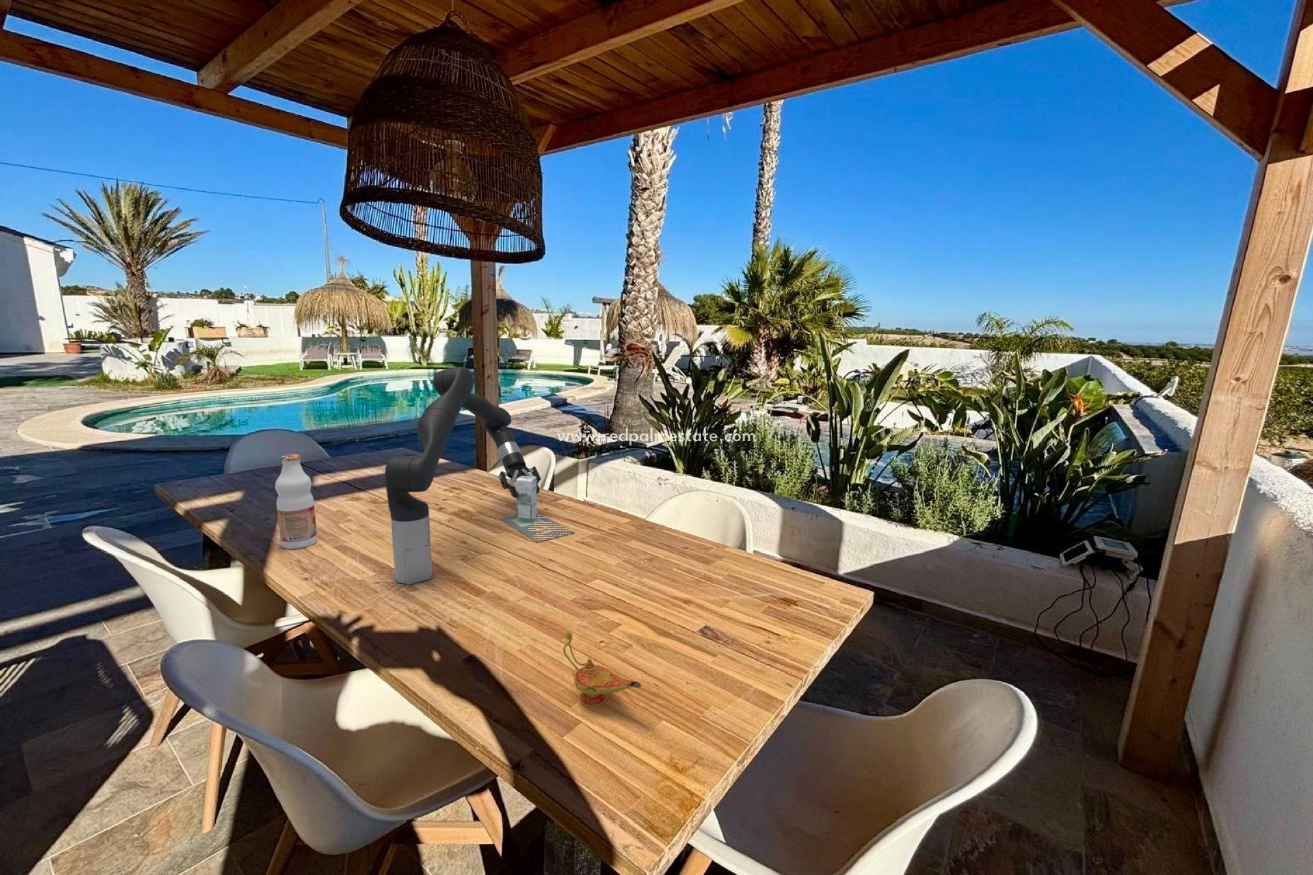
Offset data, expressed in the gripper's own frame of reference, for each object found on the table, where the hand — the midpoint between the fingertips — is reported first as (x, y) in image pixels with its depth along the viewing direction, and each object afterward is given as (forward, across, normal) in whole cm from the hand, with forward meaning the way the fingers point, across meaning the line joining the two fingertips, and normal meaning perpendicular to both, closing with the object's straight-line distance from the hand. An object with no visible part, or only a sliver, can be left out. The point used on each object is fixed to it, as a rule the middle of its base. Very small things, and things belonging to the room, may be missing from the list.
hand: (527, 494), depth 186 cm
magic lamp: (+73, -35, -59) cm, 101 cm away
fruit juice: (-10, -65, +24) cm, 70 cm away
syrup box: (+6, 0, +6) cm, 9 cm away
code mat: (+11, 0, +3) cm, 11 cm away
